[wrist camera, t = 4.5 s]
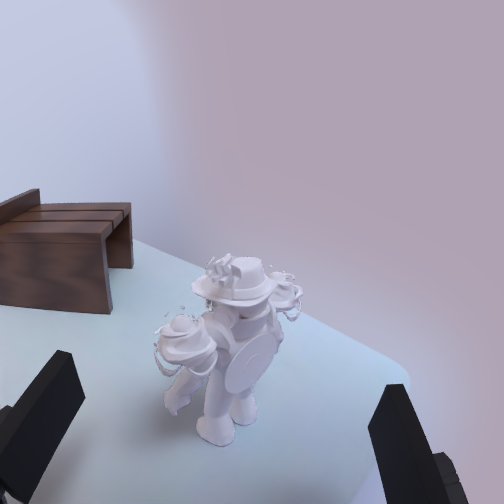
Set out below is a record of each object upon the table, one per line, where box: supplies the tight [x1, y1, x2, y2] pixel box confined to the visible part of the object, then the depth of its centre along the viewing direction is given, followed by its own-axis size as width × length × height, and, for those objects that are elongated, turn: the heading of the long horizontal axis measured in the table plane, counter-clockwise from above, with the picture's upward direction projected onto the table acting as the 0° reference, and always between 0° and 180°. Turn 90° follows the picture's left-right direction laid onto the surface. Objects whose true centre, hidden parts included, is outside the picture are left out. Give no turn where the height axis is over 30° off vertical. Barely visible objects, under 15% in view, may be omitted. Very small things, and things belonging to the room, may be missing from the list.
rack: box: [0, 189, 134, 314], centre depth 31 cm, size 14×12×10 cm
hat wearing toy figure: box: [154, 253, 303, 446], centre depth 16 cm, size 9×4×12 cm, turn 140°
